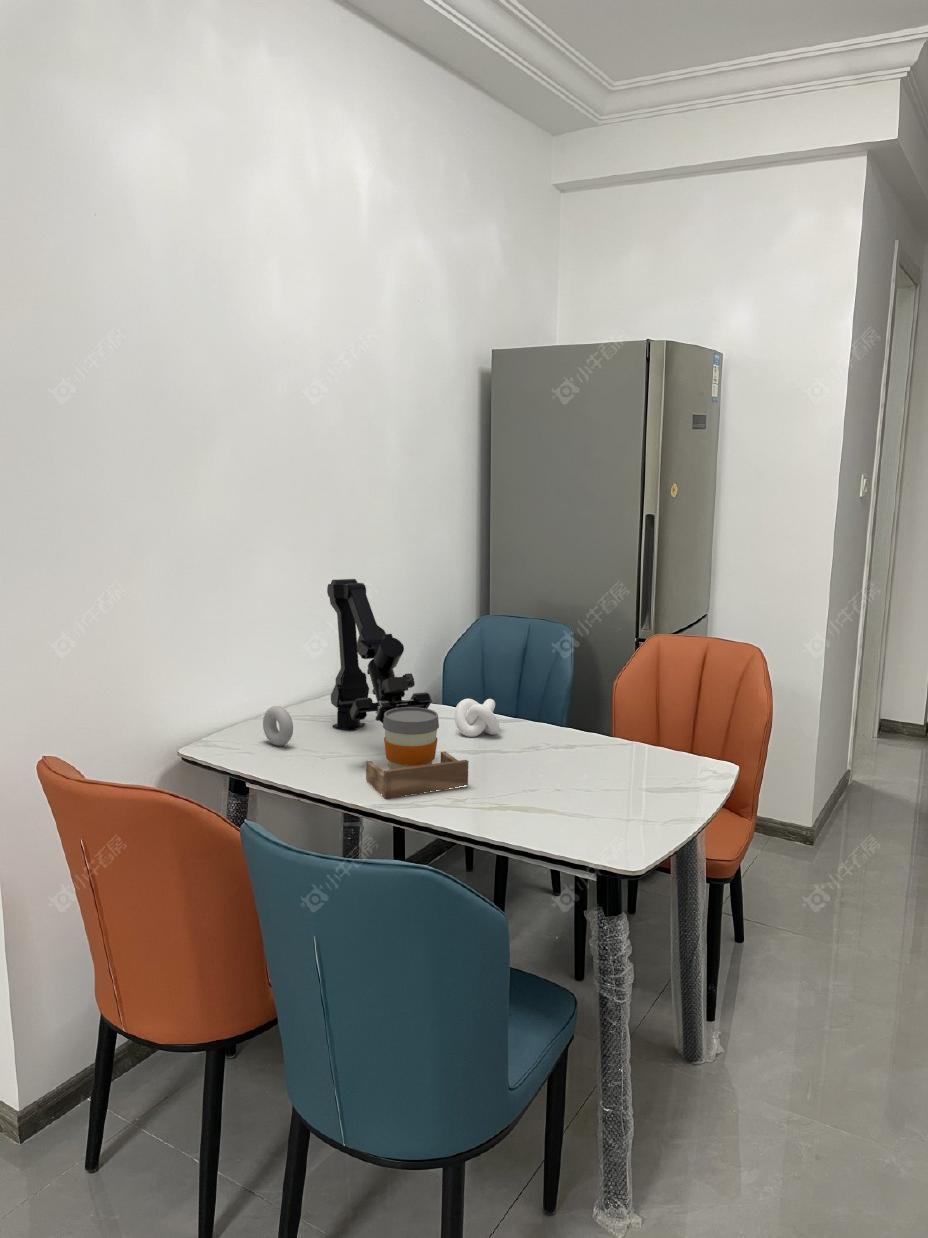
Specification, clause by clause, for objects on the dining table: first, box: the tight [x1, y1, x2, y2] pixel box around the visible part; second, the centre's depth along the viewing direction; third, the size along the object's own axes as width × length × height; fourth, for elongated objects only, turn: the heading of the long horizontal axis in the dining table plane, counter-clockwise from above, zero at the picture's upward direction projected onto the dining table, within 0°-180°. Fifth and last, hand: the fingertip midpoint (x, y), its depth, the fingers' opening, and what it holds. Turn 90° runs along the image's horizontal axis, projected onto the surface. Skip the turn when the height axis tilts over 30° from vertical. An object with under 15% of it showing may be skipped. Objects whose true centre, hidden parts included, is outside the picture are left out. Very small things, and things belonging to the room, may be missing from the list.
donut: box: [262, 705, 294, 747], centre depth 233 cm, size 10×4×10 cm, turn 49°
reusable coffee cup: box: [382, 707, 440, 770], centre depth 212 cm, size 13×13×15 cm
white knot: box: [454, 698, 500, 738], centre depth 247 cm, size 11×12×9 cm
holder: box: [365, 751, 469, 800], centre depth 209 cm, size 12×19×6 cm, turn 115°
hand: (400, 737), depth 217 cm, fingers closed, pressing on reusable coffee cup
